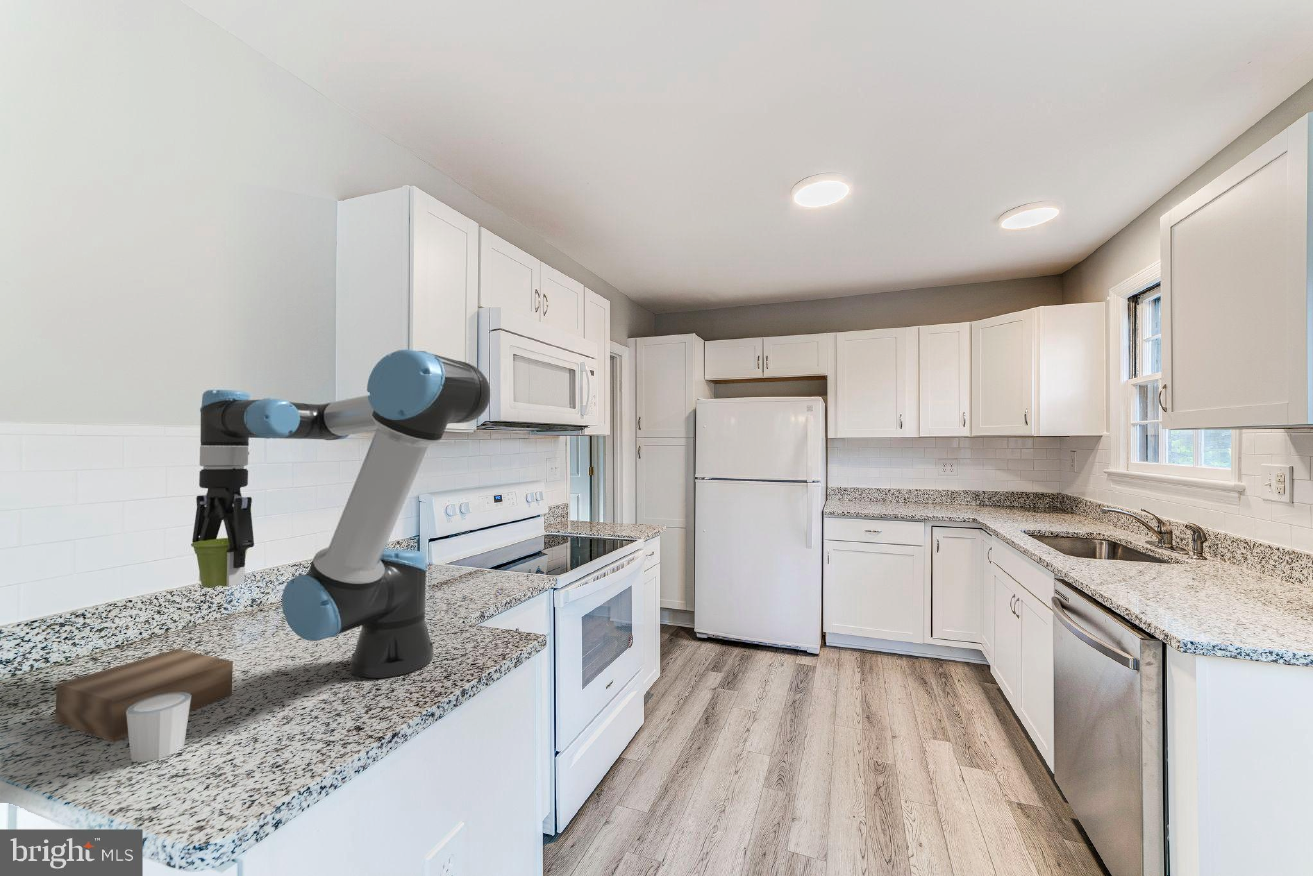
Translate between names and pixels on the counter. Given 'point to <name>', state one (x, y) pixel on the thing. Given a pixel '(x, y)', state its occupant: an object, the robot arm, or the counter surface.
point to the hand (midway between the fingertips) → (221, 581)
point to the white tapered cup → (158, 726)
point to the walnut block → (139, 690)
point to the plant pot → (212, 561)
